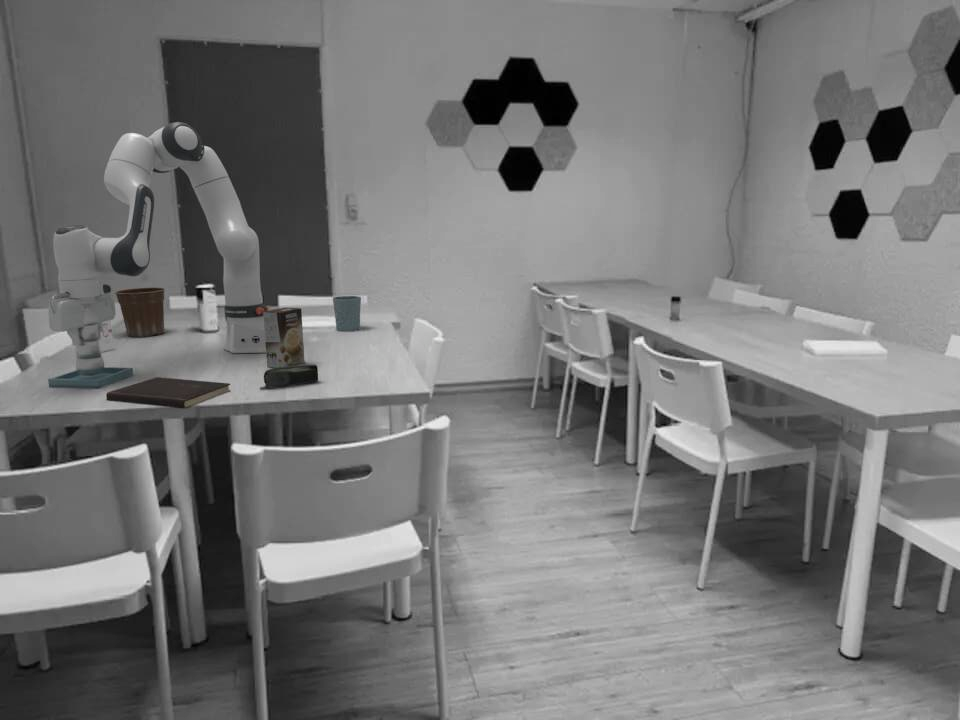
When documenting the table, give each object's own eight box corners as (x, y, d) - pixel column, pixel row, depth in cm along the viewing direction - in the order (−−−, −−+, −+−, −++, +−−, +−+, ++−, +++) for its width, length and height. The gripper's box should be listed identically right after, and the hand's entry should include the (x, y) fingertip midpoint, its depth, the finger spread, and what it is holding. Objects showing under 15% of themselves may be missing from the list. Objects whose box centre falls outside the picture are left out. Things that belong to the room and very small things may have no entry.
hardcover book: (157, 385, 177) (156, 376, 176) (231, 392, 169) (230, 383, 169) (106, 402, 162) (105, 392, 161) (184, 410, 155) (183, 400, 154)
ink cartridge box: (83, 350, 219) (76, 305, 216) (97, 347, 224) (91, 303, 220) (101, 352, 216) (94, 306, 212) (115, 349, 220) (109, 304, 217)
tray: (133, 374, 186) (132, 367, 185) (98, 388, 172) (97, 380, 172) (87, 373, 188) (86, 366, 187) (49, 386, 174) (47, 379, 174)
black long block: (315, 362, 177) (256, 369, 169) (319, 364, 175) (260, 371, 167) (316, 381, 178) (258, 388, 170) (320, 383, 176) (261, 390, 168)
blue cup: (330, 331, 247) (328, 298, 244) (340, 326, 257) (338, 295, 254) (357, 332, 245) (355, 299, 243) (366, 327, 255) (364, 295, 252)
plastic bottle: (93, 378, 176) (83, 302, 172) (70, 377, 178) (60, 301, 173) (111, 372, 182) (102, 298, 178) (89, 371, 184) (80, 298, 179)
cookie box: (283, 369, 191) (279, 312, 187) (266, 367, 193) (261, 311, 190) (305, 362, 199) (301, 308, 195) (288, 360, 201) (284, 306, 198)
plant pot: (117, 340, 236) (111, 293, 232) (123, 332, 250) (117, 288, 247) (168, 336, 241) (163, 291, 238) (171, 329, 256) (166, 286, 253)
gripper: (60, 295, 164) (69, 351, 168) (116, 285, 184) (123, 335, 187) (37, 295, 165) (46, 350, 168) (95, 285, 185) (102, 335, 188)
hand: (87, 342), depth 178 cm, fingers closed on plastic bottle, 5 cm apart
